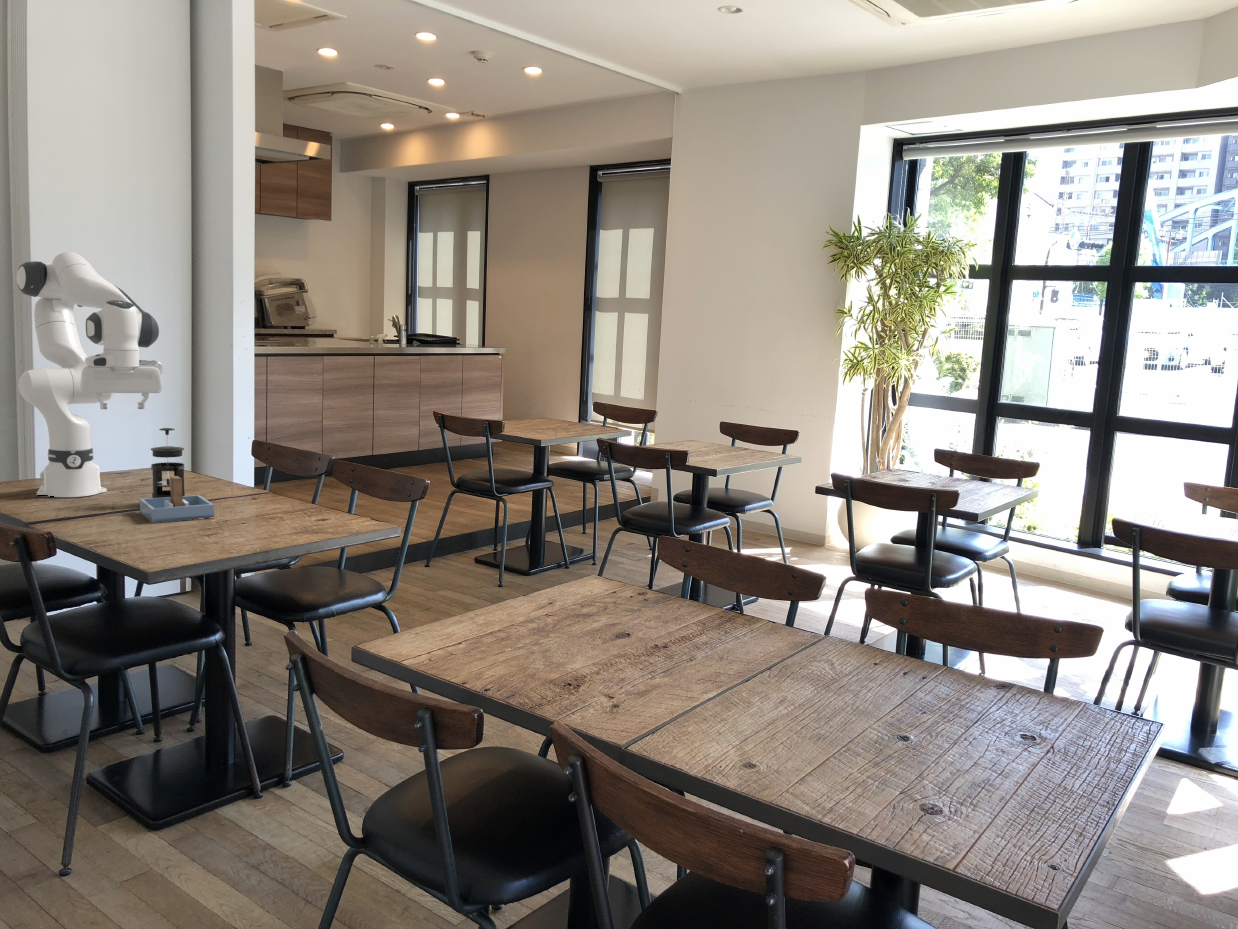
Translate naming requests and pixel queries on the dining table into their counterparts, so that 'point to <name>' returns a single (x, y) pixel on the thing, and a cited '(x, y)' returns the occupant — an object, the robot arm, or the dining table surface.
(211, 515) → the shallow blue crate
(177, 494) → the brown wooden block
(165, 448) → the french press
